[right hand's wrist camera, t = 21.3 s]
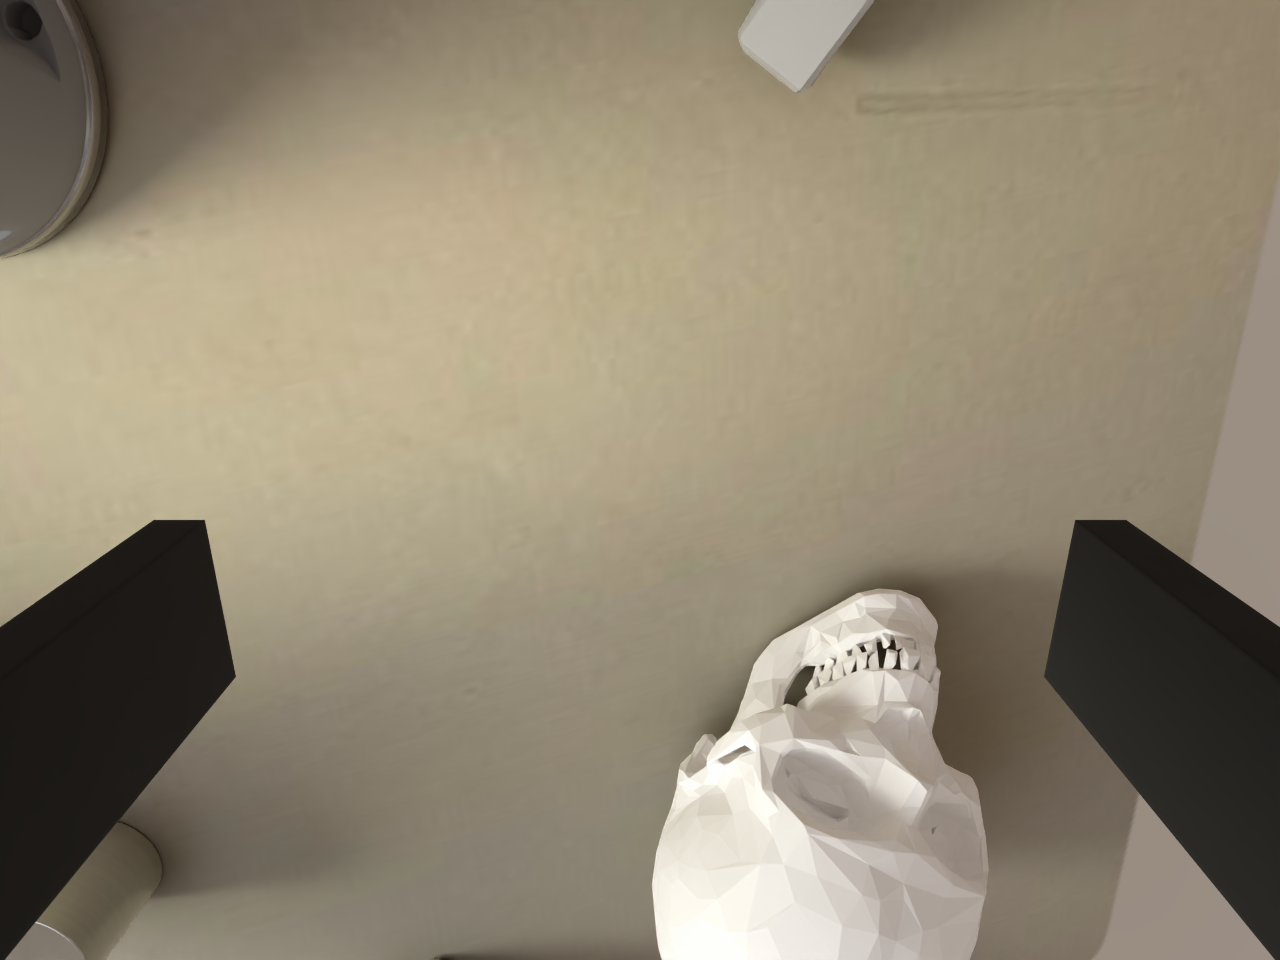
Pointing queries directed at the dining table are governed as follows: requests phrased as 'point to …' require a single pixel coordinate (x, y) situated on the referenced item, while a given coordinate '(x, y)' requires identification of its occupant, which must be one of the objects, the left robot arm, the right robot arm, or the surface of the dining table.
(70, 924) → the can
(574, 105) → the dining table surface
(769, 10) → the clamp
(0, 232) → the right robot arm
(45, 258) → the dining table surface
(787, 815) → the skull
